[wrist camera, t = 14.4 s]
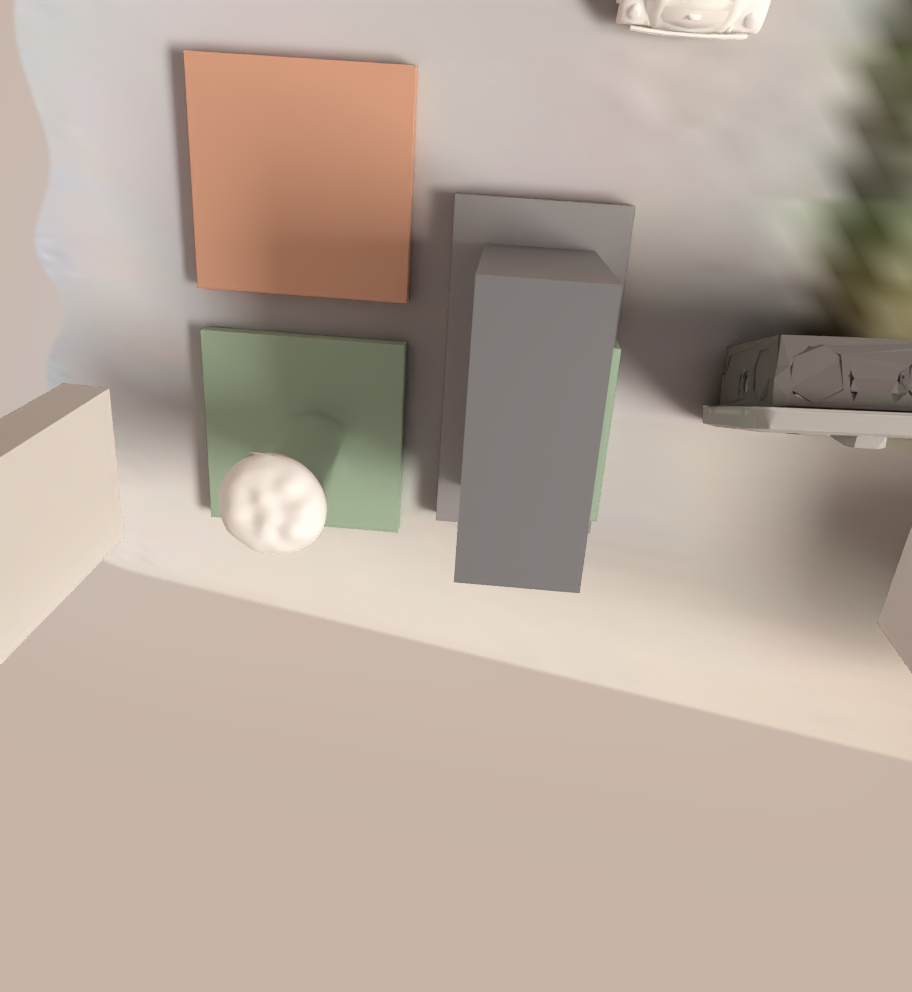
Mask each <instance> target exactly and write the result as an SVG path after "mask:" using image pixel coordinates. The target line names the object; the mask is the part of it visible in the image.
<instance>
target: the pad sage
mask: <svg viewBox="0 0 912 992" xmlns="http://www.w3.org/2000/svg"><path fill="white" fill-rule="evenodd" d="M200 334H201V351H202V368H203V384H204V401H205V418H206V434H207V451H208V468H209V485H210V501H211V517H221V514H220V509H219V491H220V486H221V483H222V481H223V479H224V477H225V475H226V474H227V473H228V471H229V470H230V469H231V468H232V467H233V466H234V465H235V464H236V463H238V462H239V461H241V460H242V459H243V458H245V457H246V456H247V455H249V454H250V453H249V452H253V451H254V450H256V449H257V448H258V447H260V446H261V445H262V444H263V443H264V442H266V441H267V440H268V439H269V438H270V437H272V436H273V435H274V434H275V433H276V432H277V431H279V430H280V429H281V428H282V427H283V426H285V425H286V424H287V423H288V422H289V421H291V420H292V419H293V418H294V417H296V416H300V415H304V414H308V413H312V412H316V413H319V414H322V415H324V416H327V417H330V418H332V419H334V420H335V421H336V423H337V424H338V426H339V427H340V428H341V430H342V431H343V432H344V434H345V435H346V455H345V459H344V462H343V465H342V468H341V470H340V473H339V476H338V479H337V482H336V485H335V488H334V491H333V494H332V497H331V501H330V504H329V508H328V512H327V516H326V521H325V524H324V526H327V527H339V528H350V529H362V530H374V531H385V532H397V533H398V530H399V526H400V503H401V478H402V452H403V427H404V401H405V376H406V351H407V342H401V341H388V340H375V339H362V338H349V337H336V336H323V335H310V334H297V333H284V332H271V331H258V330H245V329H232V328H219V327H204V328H202V329H201V330H200Z"/></svg>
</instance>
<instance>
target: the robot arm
mask: <svg viewBox="0 0 912 992" xmlns="http://www.w3.org/2000/svg"><path fill="white" fill-rule="evenodd" d="M123 538H124V531H123V521H122V511H121V501H120V491H119V481H118V471H117V461H116V451H115V441H114V431H113V421H112V411H111V401H110V390H109V388H103V387H94V386H85V385H75V384H66V383H63V384H61V385H59V386H58V387H56V388H54V389H52V390H50V391H49V392H47V393H45V394H44V395H42V396H40V397H38V398H36V399H34V400H33V401H31V402H29V403H27V404H26V405H24V406H22V407H20V408H18V409H17V410H15V411H13V412H11V413H10V414H8V415H6V416H4V417H3V418H1V419H0V664H1V663H2V662H3V661H4V660H5V659H6V658H7V657H8V656H9V655H10V654H11V653H12V652H13V651H14V650H15V649H16V648H17V647H18V646H19V645H20V644H21V643H22V642H23V641H24V640H25V638H27V637H28V636H29V635H30V634H31V633H32V632H33V631H34V630H35V629H36V627H38V626H39V625H40V623H41V622H42V621H43V620H44V619H45V618H46V617H47V616H48V615H49V614H50V613H51V612H52V611H53V610H54V609H55V608H56V607H57V606H58V605H59V604H60V603H61V602H62V601H63V600H64V599H65V598H66V597H67V596H68V595H69V594H70V593H71V592H72V591H73V590H74V589H75V587H77V586H78V585H79V584H80V582H81V581H82V580H83V579H84V578H85V577H86V576H87V575H88V574H89V573H90V572H91V571H92V570H93V569H94V568H95V567H96V566H97V565H98V564H99V563H100V562H101V561H102V560H103V559H104V558H105V557H106V556H107V555H108V554H109V553H110V552H111V551H112V550H113V549H114V548H115V547H116V546H117V545H118V544H119V543H120V541H121V540H122V539H123ZM877 624H878V625H879V627H880V628H881V629H882V631H883V632H884V634H885V635H886V637H887V638H888V640H889V641H890V642H891V644H892V645H893V647H894V648H895V650H896V651H897V653H898V654H899V656H900V657H901V658H902V660H903V661H904V663H905V664H906V666H907V667H908V669H909V670H910V671H911V673H912V527H911V530H910V532H909V535H908V538H907V541H906V544H905V546H904V549H903V552H902V555H901V558H900V561H899V563H898V566H897V569H896V572H895V575H894V577H893V580H892V583H891V586H890V589H889V592H888V594H887V597H886V600H885V603H884V606H883V608H882V611H881V614H880V617H879V620H878V623H877Z"/></svg>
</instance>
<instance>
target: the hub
mask: <svg viewBox="0 0 912 992" xmlns="http://www.w3.org/2000/svg"><path fill="white" fill-rule="evenodd" d="M634 214H635V206H633V205H619V204H605V203H591V202H577V201H562V200H548V199H534V198H520V197H506V196H491V195H477V194H463V193H456V194H455V202H454V219H453V237H452V254H451V271H450V288H449V305H448V322H447V339H446V356H445V373H444V391H443V408H442V425H441V442H440V459H439V476H438V493H437V510H436V520H440V521H452V522H458V532H457V546H456V560H455V575H454V582H458V583H470V584H481V585H493V586H504V587H515V588H527V589H538V590H550V591H561V592H573V593H580V585H581V578H582V571H583V564H584V557H585V550H586V542H587V535H588V533H590V527H591V521H597V516H598V509H599V502H600V495H601V488H602V481H603V474H604V467H605V460H606V453H607V446H608V439H609V433H610V426H611V419H612V412H613V405H614V398H615V391H616V384H617V377H618V370H619V363H620V356H621V347H620V345H619V344H618V342H617V335H618V328H619V321H620V314H621V307H622V300H623V293H624V286H625V278H626V271H627V264H628V257H629V250H630V243H631V236H632V229H633V221H634Z"/></svg>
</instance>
